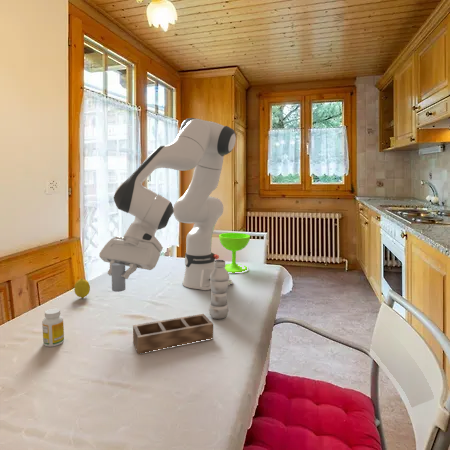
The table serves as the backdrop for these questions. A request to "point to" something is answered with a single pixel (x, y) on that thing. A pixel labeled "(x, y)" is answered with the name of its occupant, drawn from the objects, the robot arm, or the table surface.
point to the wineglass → (234, 248)
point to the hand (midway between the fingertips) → (117, 276)
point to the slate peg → (118, 277)
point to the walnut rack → (171, 332)
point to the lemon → (82, 288)
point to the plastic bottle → (219, 290)
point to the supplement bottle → (53, 328)
